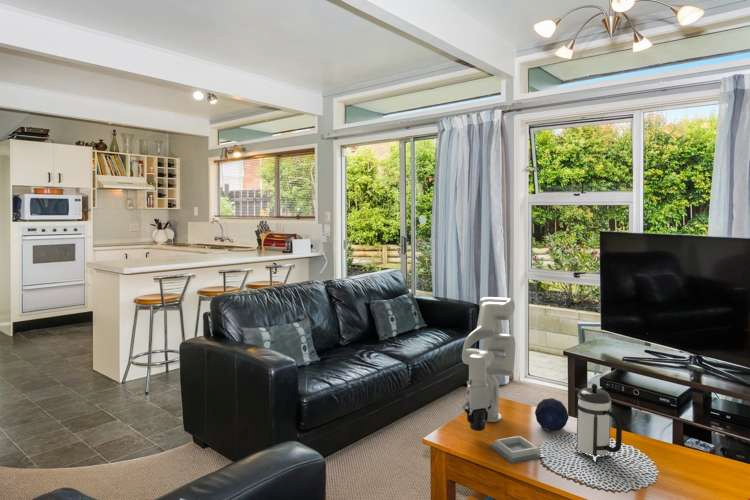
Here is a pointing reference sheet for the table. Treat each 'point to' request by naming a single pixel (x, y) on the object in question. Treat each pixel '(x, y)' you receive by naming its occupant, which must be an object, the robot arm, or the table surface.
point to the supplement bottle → (478, 420)
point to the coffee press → (596, 422)
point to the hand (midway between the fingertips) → (477, 420)
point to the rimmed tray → (515, 449)
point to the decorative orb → (551, 414)
